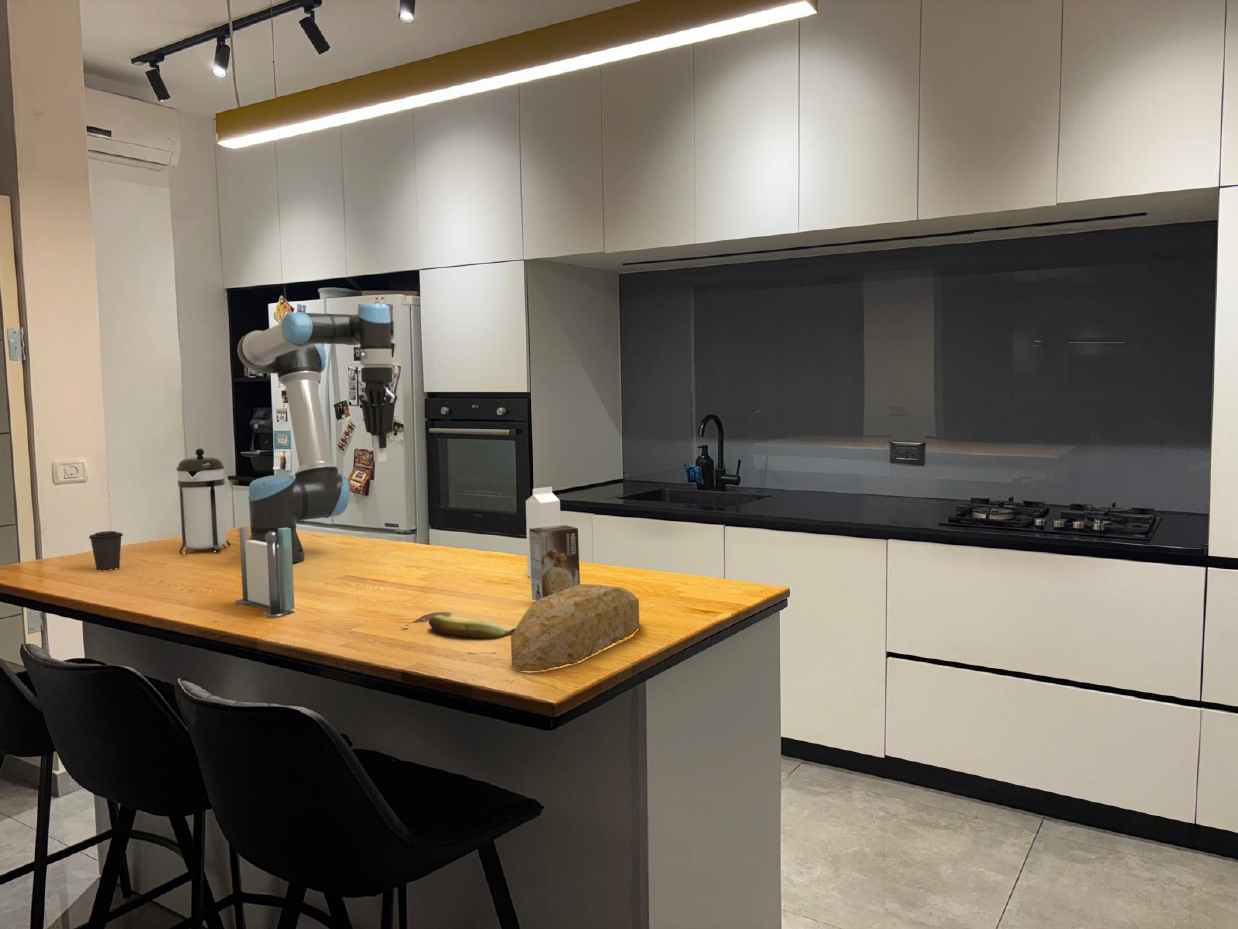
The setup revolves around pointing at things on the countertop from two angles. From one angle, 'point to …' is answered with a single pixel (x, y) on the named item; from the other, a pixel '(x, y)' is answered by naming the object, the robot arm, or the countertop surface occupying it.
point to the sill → (258, 605)
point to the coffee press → (202, 503)
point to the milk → (541, 514)
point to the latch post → (273, 575)
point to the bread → (573, 626)
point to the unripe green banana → (462, 627)
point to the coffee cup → (106, 549)
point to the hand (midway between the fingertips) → (380, 461)
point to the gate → (266, 569)
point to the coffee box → (553, 560)
